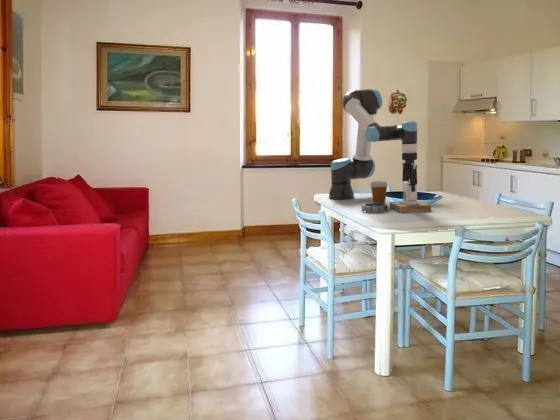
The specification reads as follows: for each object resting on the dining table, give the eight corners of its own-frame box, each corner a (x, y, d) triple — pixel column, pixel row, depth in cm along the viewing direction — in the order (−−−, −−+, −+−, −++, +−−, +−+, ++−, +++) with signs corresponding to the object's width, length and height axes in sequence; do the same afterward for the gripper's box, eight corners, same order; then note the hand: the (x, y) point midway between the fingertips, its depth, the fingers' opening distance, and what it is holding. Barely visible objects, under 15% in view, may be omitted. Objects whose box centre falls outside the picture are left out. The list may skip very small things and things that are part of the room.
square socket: (389, 207, 272) (389, 202, 272) (418, 205, 274) (418, 200, 274) (400, 213, 257) (400, 207, 256) (430, 210, 259) (430, 204, 258)
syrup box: (417, 210, 263) (417, 182, 260) (406, 210, 262) (406, 182, 259) (413, 207, 268) (413, 180, 265) (402, 208, 268) (402, 181, 265)
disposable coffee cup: (387, 205, 280) (387, 183, 278) (370, 205, 282) (369, 183, 280) (387, 202, 289) (387, 181, 287) (370, 202, 291) (370, 181, 289)
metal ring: (369, 207, 276) (369, 201, 275) (391, 209, 268) (391, 203, 267) (357, 211, 266) (357, 206, 265) (380, 213, 258) (380, 207, 257)
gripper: (424, 153, 251) (424, 199, 255) (409, 150, 270) (409, 193, 274) (409, 153, 250) (409, 200, 254) (395, 151, 269) (396, 194, 274)
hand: (409, 196), depth 264 cm, fingers open, 7 cm apart
